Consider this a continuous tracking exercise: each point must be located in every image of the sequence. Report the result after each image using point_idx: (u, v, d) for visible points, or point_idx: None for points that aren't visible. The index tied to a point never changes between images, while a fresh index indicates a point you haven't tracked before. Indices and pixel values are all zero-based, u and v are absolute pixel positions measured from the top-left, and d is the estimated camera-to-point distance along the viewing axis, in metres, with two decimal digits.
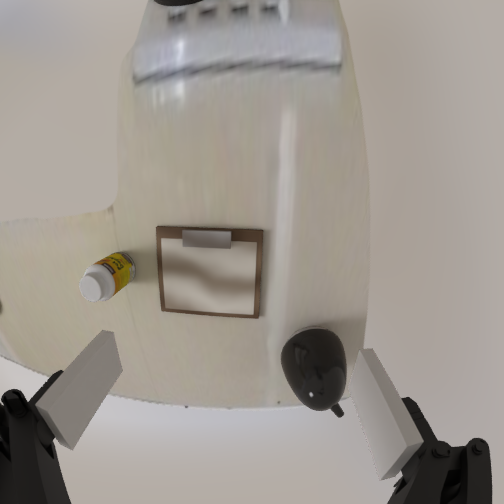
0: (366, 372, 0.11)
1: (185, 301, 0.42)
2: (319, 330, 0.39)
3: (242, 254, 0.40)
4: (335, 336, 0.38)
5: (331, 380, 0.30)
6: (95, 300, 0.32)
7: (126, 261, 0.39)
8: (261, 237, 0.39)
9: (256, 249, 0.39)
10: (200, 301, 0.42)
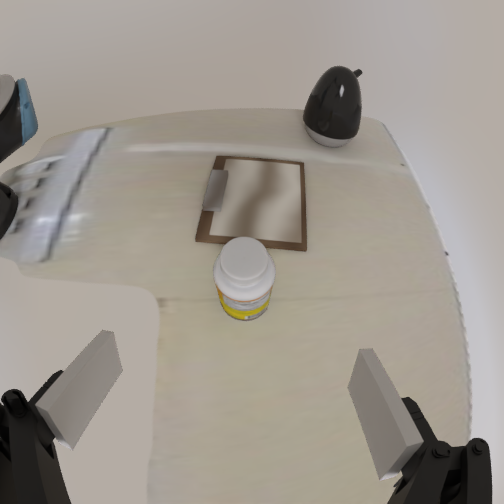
0: (366, 372, 0.11)
1: (289, 218, 0.36)
2: (303, 115, 0.43)
3: (236, 167, 0.40)
4: None
5: (324, 73, 0.35)
6: (264, 250, 0.22)
7: None
8: (222, 156, 0.42)
9: (232, 159, 0.41)
10: (288, 204, 0.37)
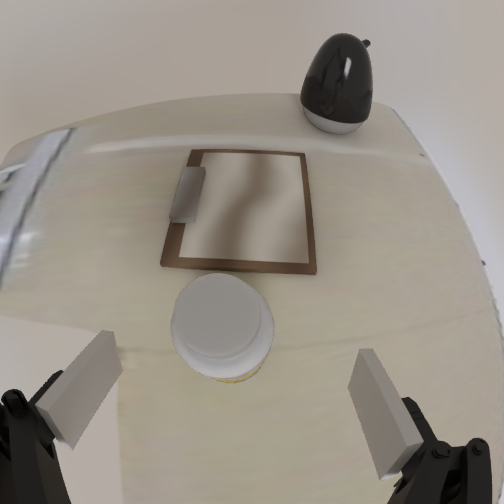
0: (366, 372, 0.11)
1: (290, 228, 0.26)
2: None
3: (216, 163, 0.30)
4: None
5: (325, 41, 0.25)
6: (252, 299, 0.12)
7: None
8: (199, 150, 0.32)
9: (212, 153, 0.31)
10: (288, 208, 0.27)
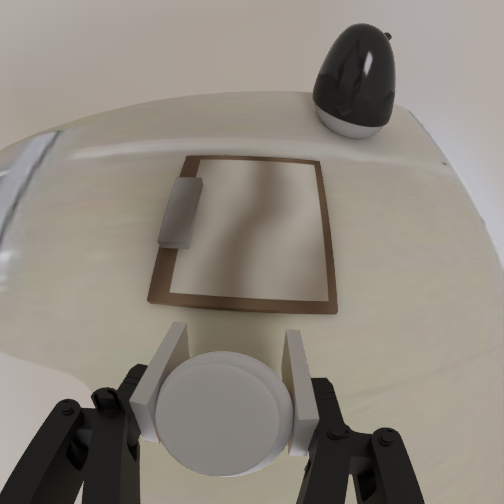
0: (287, 350, 0.13)
1: (306, 257, 0.21)
2: (313, 93, 0.28)
3: (216, 172, 0.25)
4: None
5: (342, 32, 0.21)
6: (268, 404, 0.07)
7: None
8: (195, 156, 0.27)
9: (210, 160, 0.26)
10: (302, 230, 0.22)
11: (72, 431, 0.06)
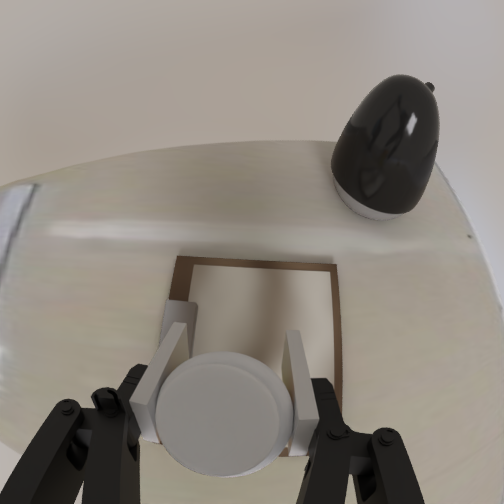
0: (287, 350, 0.13)
1: None
2: (332, 162, 0.25)
3: (213, 287, 0.22)
4: None
5: (379, 86, 0.17)
6: (268, 404, 0.07)
7: None
8: (187, 258, 0.23)
9: (206, 265, 0.23)
10: (312, 371, 0.18)
11: (72, 431, 0.06)
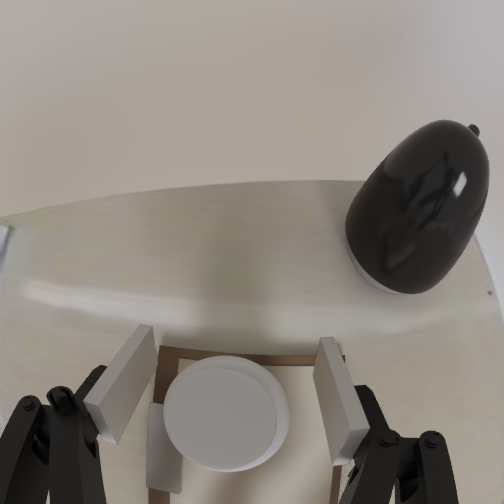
0: (324, 359, 0.12)
1: (309, 498, 0.13)
2: (347, 226, 0.20)
3: None
4: None
5: (420, 137, 0.12)
6: (267, 404, 0.08)
7: None
8: (171, 349, 0.19)
9: (193, 360, 0.18)
10: (309, 471, 0.14)
11: (35, 426, 0.06)
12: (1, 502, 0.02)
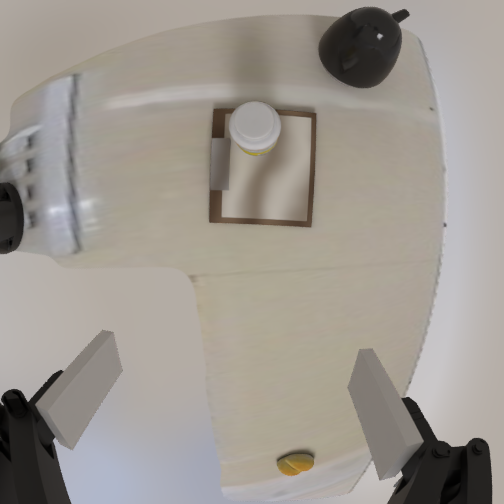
0: (366, 372, 0.11)
1: (297, 194, 0.36)
2: (319, 47, 0.27)
3: None
4: None
5: (354, 15, 0.18)
6: (270, 113, 0.24)
7: None
8: (220, 109, 0.33)
9: None
10: (296, 176, 0.35)
11: None
12: None
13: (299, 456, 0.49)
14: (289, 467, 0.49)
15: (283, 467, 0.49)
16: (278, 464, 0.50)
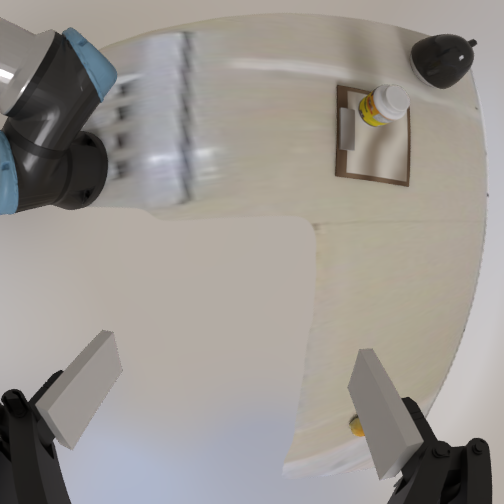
0: (366, 372, 0.11)
1: (400, 160, 0.39)
2: (412, 54, 0.31)
3: (358, 103, 0.37)
4: None
5: (448, 39, 0.22)
6: (407, 95, 0.28)
7: None
8: (343, 87, 0.37)
9: (353, 92, 0.37)
10: (399, 146, 0.39)
11: None
12: None
13: None
14: None
15: (357, 426, 0.53)
16: (352, 425, 0.54)
